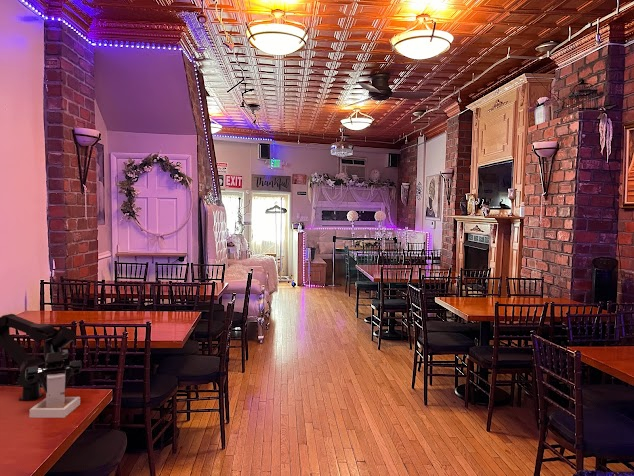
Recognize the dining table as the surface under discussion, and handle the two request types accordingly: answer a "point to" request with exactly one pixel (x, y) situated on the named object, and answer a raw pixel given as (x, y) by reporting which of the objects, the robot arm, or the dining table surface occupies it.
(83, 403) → the dining table surface
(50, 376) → the skincare box
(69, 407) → the shallow white square tray
